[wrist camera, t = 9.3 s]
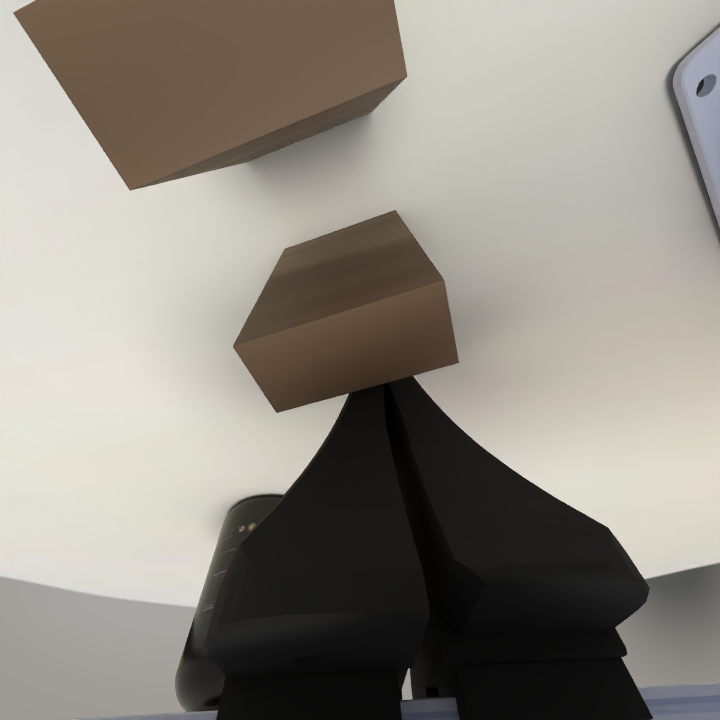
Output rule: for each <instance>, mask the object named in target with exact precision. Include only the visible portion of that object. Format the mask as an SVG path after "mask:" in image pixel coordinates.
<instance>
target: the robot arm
mask: <svg viewBox="0 0 720 720" xmlns="http://www.w3.org/2000/svg"><path fill="white" fill-rule="evenodd" d="M702 79H704V85H703V88H702V90H701V91H700V92H699V93H698V95H696V89H697V87H698V84H699V82H700V81H701V80H702ZM673 89H674V92H675V95H676V98H677V101H678V104H679V107H680V110H681V113H682V116H683V119H684V122H685V125H686V128H687V131H688V134H689V137H690V140H691V143H692V146H693V149H694V152H695V155H696V158H697V161H698V164H699V167H700V170H701V173H702V176H703V179H704V182H705V185H706V188H707V191H708V194H709V197H710V200H711V203H712V206H713V209H714V212H715V215H716V218H717V221H718V224H719V227H720V27H719V28H717V29H716V30H715V31H714V32H713V33H712V34H711V35H710V36H708V37H707V38H706V39H705V40H704V41H703V42H702V43H701V44H699V45H698V46H697V47H696V48H695V49H694V50H693V51H692V52H690V53H689V54H688V55H687V56H686V57H685V58H684V59H683V60H682V62H681V63H680V64H679V66H678V67H677V69H676V71H675V74H674V77H673ZM648 593H649V587H648V585H647V583H646V582H645V580H644V578H643V577H642V575H641V574H640V572H639V571H638V569H637V568H636V566H635V565H634V563H633V562H632V560H631V559H630V557H629V556H628V554H627V552H626V551H625V550H624V548H623V547H622V546H621V544H620V543H619V541H618V540H617V539H616V537H615V536H614V535H613V533H612V532H611V531H610V530H609V528H608V527H606V526H604V525H603V524H601V523H599V522H597V521H595V520H594V519H592V518H590V517H588V516H587V515H585V514H583V513H581V512H580V511H578V510H576V509H574V508H573V507H571V506H569V505H567V504H566V503H564V502H562V501H560V500H558V499H557V498H555V497H553V496H552V495H550V494H549V493H547V492H545V491H544V490H542V489H541V488H539V487H538V486H536V485H535V484H533V483H531V482H530V481H528V480H527V479H525V478H524V477H522V476H521V475H519V474H518V473H516V472H515V471H514V470H512V469H511V468H509V467H508V466H507V465H505V464H504V463H502V462H501V461H500V460H498V459H497V458H496V457H494V456H493V455H492V454H490V453H489V452H488V451H486V450H485V449H484V448H483V447H481V446H480V445H479V444H478V443H476V442H475V441H474V440H473V439H472V438H471V437H469V436H468V435H467V434H466V433H465V432H464V431H463V430H461V429H460V428H459V427H458V426H457V425H456V424H455V423H454V422H453V421H452V420H451V419H450V418H449V417H448V416H447V415H446V414H445V413H444V412H443V411H442V410H441V409H440V408H439V407H438V405H437V404H436V403H435V402H434V401H433V400H432V399H431V398H430V396H429V395H428V394H427V393H426V392H425V391H424V389H423V388H422V387H421V386H420V385H419V383H418V382H417V381H416V379H415V378H414V377H413V376H409V377H406V378H402V379H398V380H395V381H391V382H387V383H384V384H380V385H376V386H373V387H369V388H366V389H362V390H358V391H355V392H351V393H349V395H348V397H347V400H346V402H345V404H344V406H343V408H342V410H341V412H340V414H339V416H338V418H337V420H336V422H335V424H334V426H333V428H332V429H331V431H330V433H329V435H328V436H327V438H326V439H325V441H324V443H323V444H322V446H321V447H320V449H319V450H318V452H317V453H316V455H315V456H314V457H313V459H312V460H311V462H310V463H309V465H308V466H307V467H306V469H305V470H304V471H303V473H302V474H301V475H300V476H299V478H298V479H297V480H296V481H295V482H294V484H293V485H292V486H291V487H290V488H289V490H288V491H287V492H286V493H285V494H284V496H283V497H282V498H281V499H280V500H279V502H278V503H277V504H276V505H275V506H274V507H273V508H272V509H271V510H270V511H269V512H268V514H267V515H266V516H265V517H264V518H263V519H262V520H261V521H260V522H259V523H258V524H257V525H256V526H255V527H254V528H253V529H252V530H251V531H250V532H249V533H248V534H247V535H246V536H245V537H244V539H243V540H242V541H241V542H240V543H239V545H238V547H237V549H236V551H235V553H234V555H233V557H232V560H231V562H230V564H229V566H228V568H227V571H226V573H225V575H224V578H223V580H222V583H221V586H220V588H219V591H218V593H217V596H216V599H215V603H214V606H213V610H212V614H211V617H210V621H209V625H208V628H207V632H206V636H205V640H204V643H203V645H204V648H205V650H206V652H207V654H208V656H209V658H210V659H211V660H212V661H213V662H214V663H215V664H216V666H217V667H218V668H219V669H220V670H221V671H222V672H223V673H224V674H225V675H226V676H225V681H224V685H223V690H222V694H221V699H220V704H219V708H218V711H202V712H185V713H166V714H151V715H150V714H149V715H131V716H114V717H96V718H78V719H61V720H720V682H714V683H697V684H679V685H661V686H645V687H637V686H636V685H635V683H634V681H633V679H632V677H631V675H630V673H629V671H628V670H627V668H626V666H625V664H624V662H623V660H622V658H621V657H624V656H625V655H627V651H626V647H625V645H624V644H623V642H622V640H621V638H620V636H619V634H618V633H617V631H616V629H615V627H616V626H617V625H619V624H620V623H621V622H623V621H624V620H625V619H627V618H628V617H629V616H630V615H632V614H633V613H634V612H636V611H637V610H638V609H639V608H640V607H641V606H642V605H643V604H644V603H645V602H646V600H647V597H648ZM408 668H410V676H411V688H412V696H413V700H402V686H403V683H404V680H405V676H406V673H407V670H408Z"/></svg>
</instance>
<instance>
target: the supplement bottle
mask: <svg viewBox="0 0 720 720" xmlns="http://www.w3.org/2000/svg"><path fill="white" fill-rule="evenodd" d="M281 498H282V497H280V496H263V497H256V498H252V499H249V500H246V501H244V502H242V503H240V504H238V505H237V506H236V507H234V508H233V509H232V510H231V511H230V512H229V514H228V515H227V517H226V519H225V521H224V524H223V527H222V530H221V533H220V536H219V539H218V542H217V545H216V549H215V552H214V555H213V558H212V561H211V565H210V568H209V571H208V574H207V577H206V580H205V584H204V587H203V590H202V593H201V596H200V600H199V603H198V606H197V609H196V612H195V615H194V619H193V622H192V625H191V629H190V631H189V635H188V638H187V641H186V644H185V648H184V651H183V654H182V657H181V660H180V663H179V667H178V670H177V674H176V679H175V689H176V695H177V699H178V701H179V703H180V704H181V706H182V707H183V709H184V710H185V711H186V712H202V711H218V708H219V704H220V699H221V694H222V690H223V685H224V681H225V676H226V675H225V674H224V673H223V672H222V671H221V670H220V669H219V668H218V667H217V666H216V664H215V663H214V662H213V661H212V660H211V659H210V658H209V656H208V654H207V652H206V650H205V648H204V645H203V643H204V640H205V636H206V632H207V628H208V625H209V621H210V617H211V614H212V610H213V606H214V603H215V599H216V596H217V593H218V591H219V588H220V586H221V583H222V580H223V578H224V575H225V573H226V571H227V568H228V566H229V564H230V562H231V560H232V557H233V555H234V553H235V551H236V549H237V547H238V545H239V543H240V542H241V541H242V540H243V539H244V537H245V536H246V535H247V534H248V533H249V532H250V531H251V530H252V529H253V528H254V527H255V526H256V525H257V524H258V523H259V522H260V521H261V520H262V519H263V518H264V517H265V516H266V515H267V514H268V512H269V511H270V510H271V509H272V508H273V507H274V506H275V505H276V504H277V503H278V502H279V500H280V499H281Z"/></svg>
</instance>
